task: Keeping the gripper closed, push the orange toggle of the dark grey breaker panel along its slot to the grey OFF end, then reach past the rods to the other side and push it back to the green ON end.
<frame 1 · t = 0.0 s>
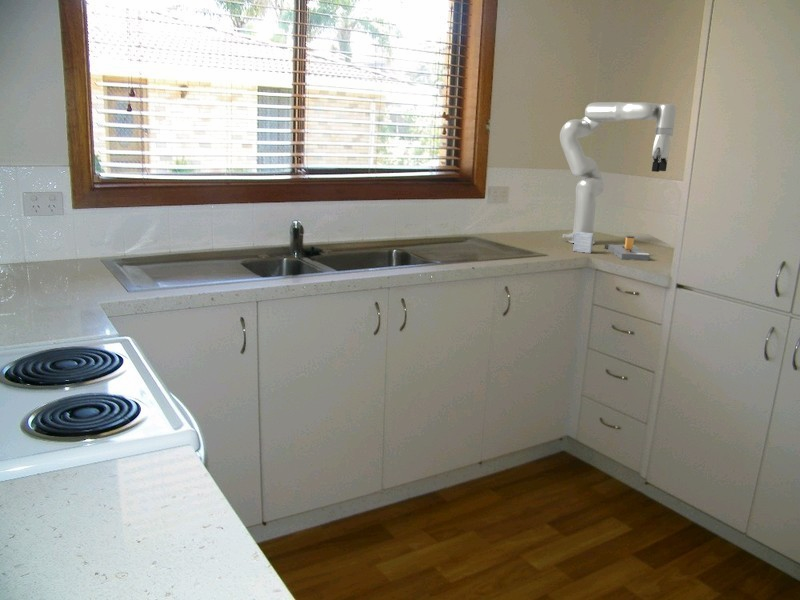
hand: (658, 171, 318), 37 cm above the countertop, tool pointing down, fingers open, 9 cm apart
toggle: (629, 244, 317), point 5 cm above the countertop, slide at 6.0 cm
medicine box: (582, 252, 320), on the countertop
panel: (627, 254, 318), on the countertop
rods: (619, 249, 332), on the countertop
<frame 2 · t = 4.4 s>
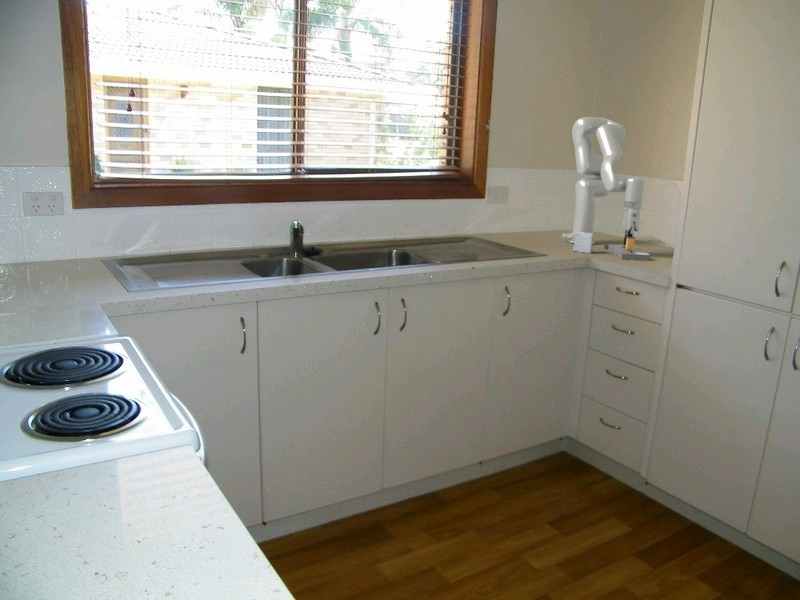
hand: (627, 245, 319), 4 cm above the countertop, tool pointing down, fingers closed
toggle: (630, 245, 315), point 5 cm above the countertop, slide at 4.5 cm, touching gripper
everything else where it was.
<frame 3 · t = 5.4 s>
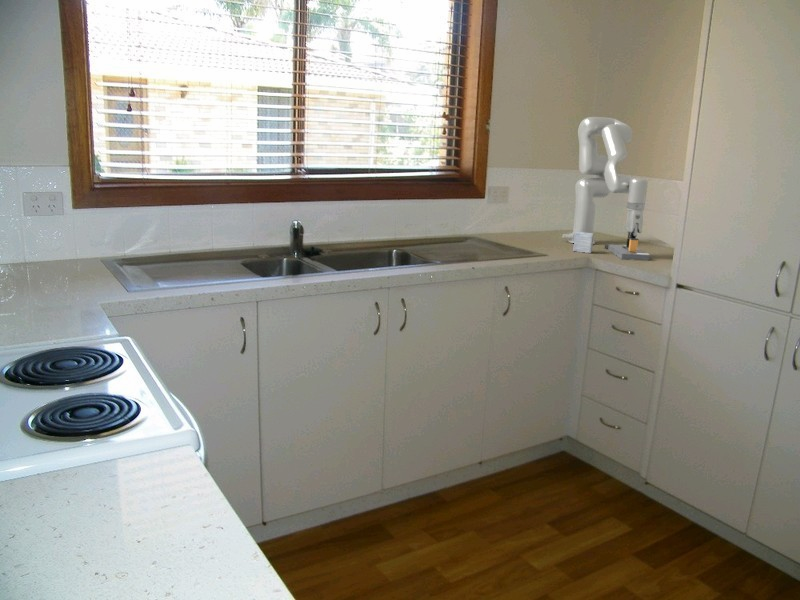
hand: (630, 247, 315), 4 cm above the countertop, tool pointing down, fingers closed
toggle: (632, 247, 311), point 5 cm above the countertop, slide at -0.3 cm, touching gripper
everything else where it was.
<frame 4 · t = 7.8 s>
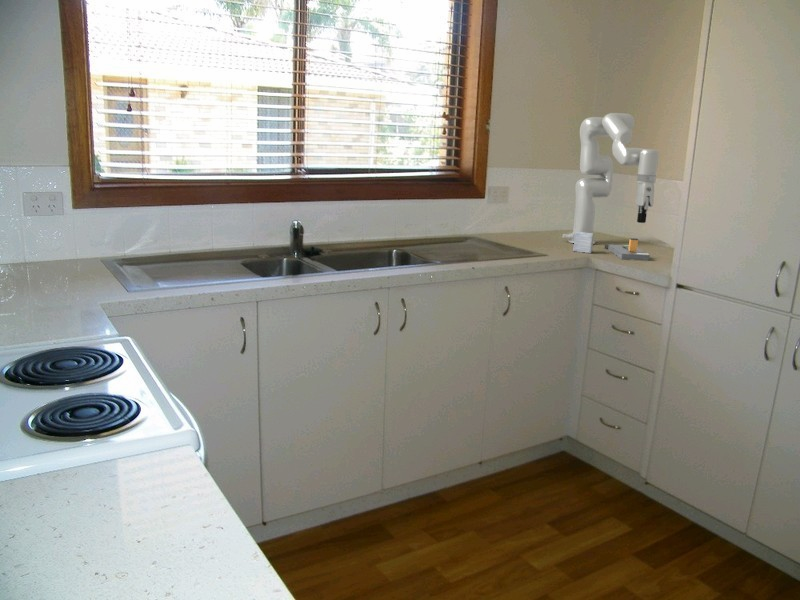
hand: (641, 222, 301), 17 cm above the countertop, tool pointing down, fingers closed
toggle: (632, 247, 311), point 5 cm above the countertop, slide at 0.0 cm
everything else where it was.
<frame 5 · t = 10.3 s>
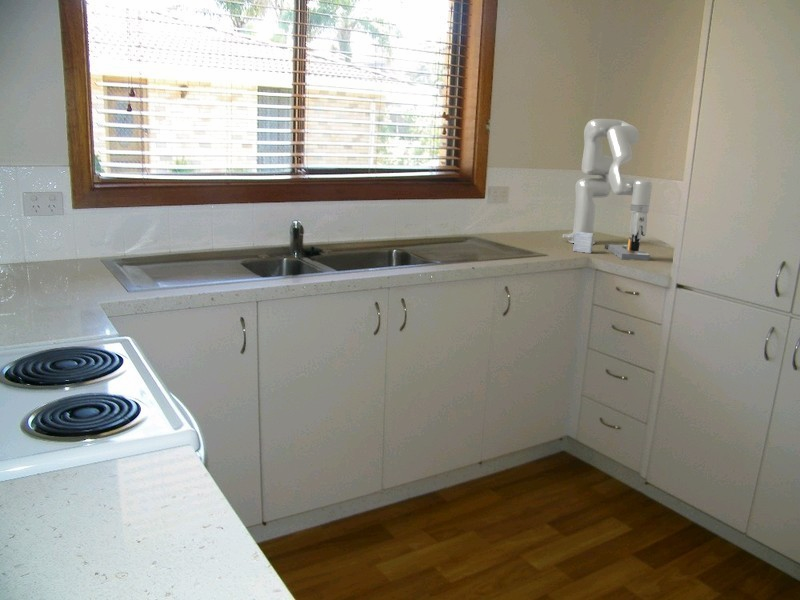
hand: (634, 250, 308), 4 cm above the countertop, tool pointing down, fingers closed
toggle: (632, 246, 312), point 5 cm above the countertop, slide at 1.2 cm, touching gripper
everything else where it was.
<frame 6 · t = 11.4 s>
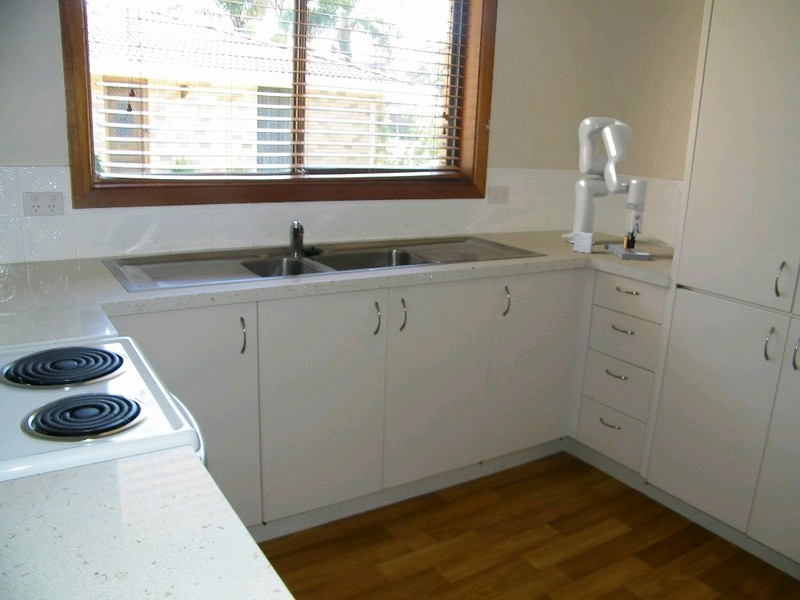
hand: (630, 248, 315), 4 cm above the countertop, tool pointing down, fingers closed
toggle: (628, 244, 318), point 5 cm above the countertop, slide at 7.6 cm, touching gripper
everything else where it was.
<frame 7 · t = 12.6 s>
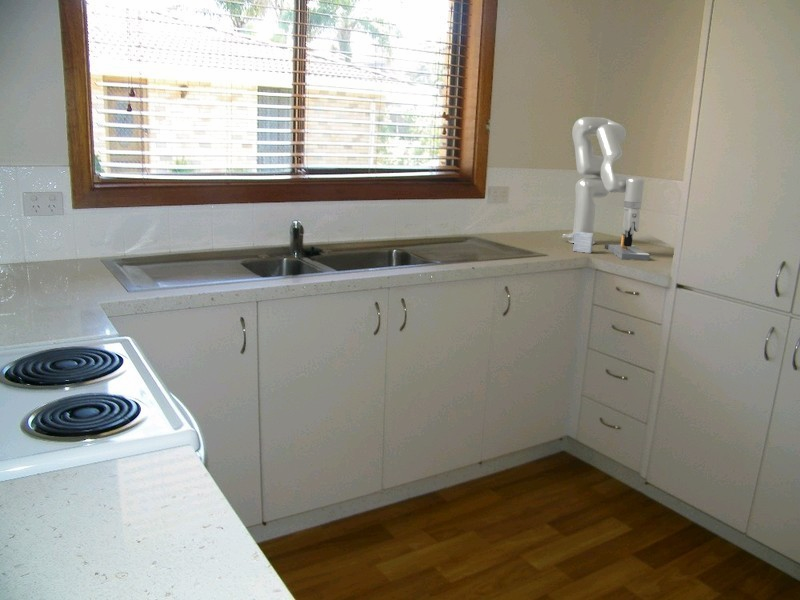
hand: (627, 245, 319), 4 cm above the countertop, tool pointing down, fingers closed
toggle: (625, 242, 323), point 5 cm above the countertop, slide at 12.6 cm, touching gripper
everything else where it was.
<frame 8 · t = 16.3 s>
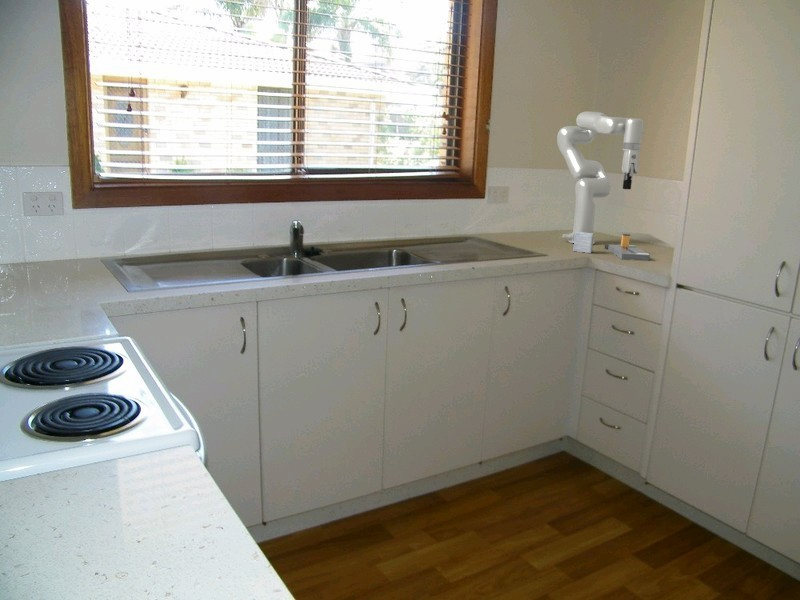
hand: (626, 189, 315), 29 cm above the countertop, tool pointing down, fingers closed
toggle: (625, 242, 323), point 5 cm above the countertop, slide at 12.5 cm
everything else where it was.
at the end: toggle slide at 12.5 cm; toggle touching nothing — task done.
